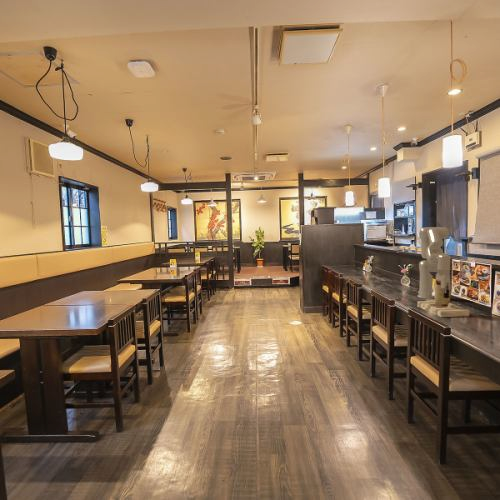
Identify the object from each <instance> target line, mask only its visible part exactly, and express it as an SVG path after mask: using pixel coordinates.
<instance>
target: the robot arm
mask: <svg viewBox="0 0 500 500" xmlns="http://www.w3.org/2000/svg"><path fill="white" fill-rule="evenodd" d="M449 237H450V231H449V229H448V228H447V227H445V226H443V227H442V226H435V227H434V226H426V227H421V228H420V229H419V239H420V241H421V249H420V252H421V254H420V255H421V257H422V259H423V260H421V261H419V263H418V269H419V290H418V291H417V293H418V294H417V295H416V297H418V298H420V299H425V300H427V299H428V300H429V299H430V300H432V299H435V295H433V282H434V281H433V278H434V277H433V275H432V274H431V273H436V274H435V282H434V285H435V284H436V280H437V279H440V280H441V288H442V289H444V291H445V292H444V298H449V293H450V291H451V292H452V289H453V288H452V285H451V286H450V283H451V275H450V271H451V256H450V255H448V254H447V253H444V251H443V249H442V248H441V247H443V245H444V242H443V241H444V240H443V239H448V238H449ZM425 259H426V260H425ZM446 287H447V288H446ZM446 289H447V290H446Z"/></svg>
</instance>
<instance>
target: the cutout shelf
mask: <svg viewBox="0 0 500 500" xmlns="http://www.w3.org/2000/svg"><path fill="white" fill-rule="evenodd" d="M416 306H417V307H418V308H420V309H423V310H425V311H426V312H429V313H431V314H433V315H435V316H438V317H440V318H447V317H449V318H450V317H452V318H453V317H469V316H470V310H469V309H467V308H464V307H461V306H459V305H456V304H453V303H451V302H449V305H448V306H438V305H435V300H424V301H422V300H420V301H419V300H418V301H417V305H416Z"/></svg>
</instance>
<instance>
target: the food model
mask: <svg viewBox="0 0 500 500" xmlns="http://www.w3.org/2000/svg"><path fill="white" fill-rule="evenodd" d="M451 283H452V282H450V286H451V287H452V285H451ZM446 288H447V287H446ZM446 290H447V289H446ZM444 292H445V291H444V289H442V288H441V280H440V279H437V280H436V284H435V283H434V301H435V305H438V306H448V305H449V303H450V300H451V292H452V290H451V291H450V293H449V298H444Z"/></svg>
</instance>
